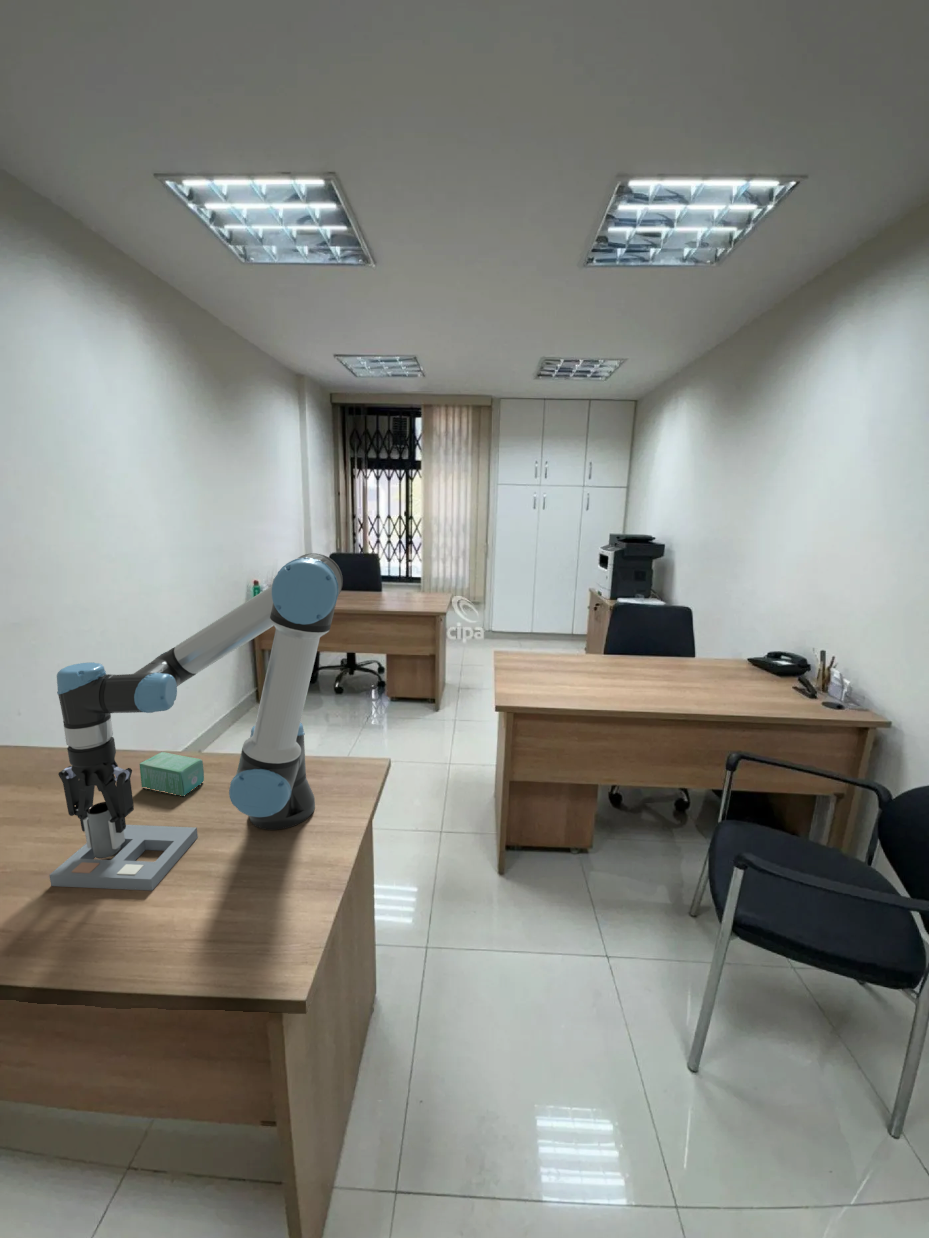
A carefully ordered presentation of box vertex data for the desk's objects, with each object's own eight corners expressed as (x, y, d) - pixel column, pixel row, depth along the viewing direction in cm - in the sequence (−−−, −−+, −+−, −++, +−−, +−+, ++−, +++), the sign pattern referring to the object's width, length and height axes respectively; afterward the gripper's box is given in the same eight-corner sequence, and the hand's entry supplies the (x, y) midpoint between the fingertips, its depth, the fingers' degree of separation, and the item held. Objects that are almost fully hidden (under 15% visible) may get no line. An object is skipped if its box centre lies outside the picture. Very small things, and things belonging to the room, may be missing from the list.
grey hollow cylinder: (102, 844, 107) (95, 801, 105) (125, 844, 107) (118, 800, 105) (88, 859, 103) (81, 814, 100) (112, 858, 103) (105, 813, 101)
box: (184, 798, 128) (181, 771, 126) (141, 790, 131) (137, 763, 129) (205, 783, 135) (203, 757, 133) (164, 776, 138) (161, 750, 136)
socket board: (197, 837, 113) (196, 826, 112) (152, 890, 97) (150, 878, 97) (110, 833, 113) (108, 823, 113) (51, 886, 98) (49, 873, 97)
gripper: (146, 734, 103) (159, 834, 108) (62, 731, 103) (79, 831, 109) (121, 751, 96) (135, 858, 101) (30, 748, 96) (50, 854, 101)
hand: (106, 844), depth 105 cm, fingers closed on grey hollow cylinder, 4 cm apart
